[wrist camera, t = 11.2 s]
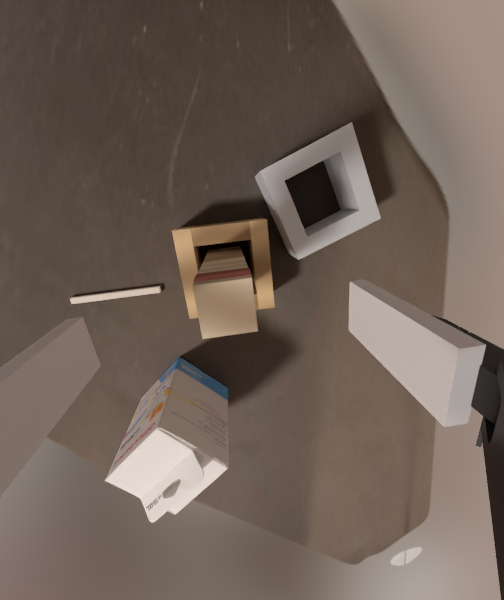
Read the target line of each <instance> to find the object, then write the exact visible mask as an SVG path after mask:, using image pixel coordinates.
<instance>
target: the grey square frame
mask: <svg viewBox="0 0 504 600" xmlns="http://www.w3.org/2000/svg"><path fill="white" fill-rule="evenodd" d="M321 161H324V164H325V167H326V169H327V172H328V175H329V178H330V181H331V184H332V187H333V189H334V192H335V195H336V198H337V201H338V204H339V207H340V211H338V212H336V213H334V214H332V215H330V216H328V217H326V218H324V219H322V220H320V221H319V222H317V223H315V224H313V225H311V226H309V227H307V228H305V229H304V227H303V225H302V222H301V220H300V218H299V215H298V213H297V210H296V208H295V205H294V203H293V200H292V198H291V195H290V193H289V191H288V188H287V186H286V183H285V180H287V179H289V178H291V177H293V176H295V175H296V174H298V173H300V172H302V171H304V170H306V169H308V168H310V167H312V166H313V165H315V164H317V163H319V162H321ZM255 179H256V181H257V183H258V185H259V188H260V190H261V192H262V195H263V197H264V199H265V201H266V204H267V206H268V208H269V210H270V213H271V215H272V217H273V219H274V222H275V224H276V226H277V228H278V231H279V233H280V235H281V237H282V240H283V242H284V244H285V246H286V249H287V251H288V253H289V254H290V255H292V256H293V257H295V258H296V259H298V260H299V259H301V258H303V257H305V256H307V255H309V254H311V253H313V252H315V251H317V250H319V249H321V248H323V247H325V246H327V245H329V244H331V243H333V242H335V241H337V240H339V239H341V238H343V237H345V236H347V235H349V234H351V233H353V232H355V231H357V230H359V229H361V228H363V227H365V226H367V225H369V224H371V223H373V222H375V221H377V220H379V219H381V217H380V214H379V211H378V207H377V204H376V201H375V197H374V194H373V191H372V187H371V184H370V181H369V177H368V174H367V171H366V167H365V164H364V161H363V157H362V154H361V151H360V147H359V144H358V141H357V137H356V134H355V131H354V127H353V124H352V122H351V123H349V124H347V125H345V126H343V127H342V128H340V129H338V130H336V131H334V132H332V133H330V134H329V135H327V136H325V137H323V138H321V139H319V140H317V141H315V142H314V143H312V144H310V145H308V146H306V147H304V148H302V149H300V150H299V151H297V152H295V153H293V154H291V155H289V156H287V157H285V158H284V159H282V160H280V161H278V162H276V163H274V164H272V165H270V166H269V167H267V168H265V169H263V170H261V171H260V172H259V173H258V174H257V175H256V176H255Z"/></svg>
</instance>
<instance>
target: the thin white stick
mask: <svg viewBox="0 0 504 600" xmlns="http://www.w3.org/2000/svg"><path fill="white" fill-rule="evenodd" d="M153 293H161V287H160V286H153V287H145V288H137V289H130V290H122V291H114V292H106V293H99V294H91V295H83V296H76V297H71V298H70V301H71V303H72V304H76V303H84V302H92V301H99V300H107V299H115V298H122V297H130V296H138V295H145V294H153Z"/></svg>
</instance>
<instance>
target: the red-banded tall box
mask: <svg viewBox="0 0 504 600" xmlns="http://www.w3.org/2000/svg"><path fill="white" fill-rule="evenodd" d="M192 286H193V292H194V297H195V302H196V307H197V312H198V318H199V323H200V328H201V333H202V338H203V339H206V338H214V337H221V336H228V335H235V334H242V333H249V332H256V331H258V327H257V318H256V309H255V300H254V291H253V283H252V274H251V271H250V269H249V267H248V266H247V263H246V261H245V258H244V255H243V253H242V250H241V247H240V246H236V247H228V248H220V249H212V250H208V252H207V254H206V257H205V259H204V261H203V263H202V265H201V268H200V270H199V272H198V274H196V276H195V278H194V280H193V285H192Z"/></svg>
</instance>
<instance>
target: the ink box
mask: <svg viewBox="0 0 504 600" xmlns="http://www.w3.org/2000/svg"><path fill="white" fill-rule="evenodd" d="M228 465H229V460H228V388H227V387H225V386H224V385H222V384H221V383H219V382H218V381H216V380H215V379H213V378H212V377H210V376H208V375H207V374H205V373H204V372H202V371H201V370H200V369H198V368H197V367H195V366H194V365H192V364H190V363H189V362H187V361H186V360H184V359H182V358H181V357H179V358H178V359H177V360H176V361H175V362H174V363H173V364H172V365H171V367H170V368H169V369H168V370H167V371H166V372H165V373H164V374H163V375H162V376H161V377H160V378H159V380H158V381H157V382H156V383H155V384H154V385H153V386H152V387H151V388H150V389H149V390H148V391H147V393H146V394H145V395H144V396H143V397H142V398H141V401H140V403H139V405H138V407H137V410H136V412H135V414H134V417H133V419H132V421H131V424H130V426H129V428H128V430H127V432H126V435H125V437H124V439H123V441H122V444H121V446H120V448H119V450H118V453H117V455H116V457H115V459H114V462H113V464H112V466H111V468H110V470H109V473H108V475H107V477H106V479H105V481H106V482H108V483H110V484H112V485H114V486H116V487H118V488H120V489H123V490H125V491H127V492H129V493H131V494H133V495H135V496H137V497H139V498H140V499H141V501H142V504H143V506H144V508H145V511H146V513H147V516H148V519H149V520H150V522H155V521H156V520H158V519H159V518H160V517H161V516H162V515H163V514H164V513H166V512H167V511H168V512H170V513H172V514H177V513H178V512H179V511H180V510H181V509H182V508H184V507H185V506H186V505H187V504H188V503H189V502H190V501H192V500H193V499H194V498H195V497H196V496H197V495H198V494H200V493H201V492H202V491H203V490H204V489H205V488H206V487H208V486H209V485H210V484H211V483H212V482H213V481H214V480H215V479H217V478H218V477H219V476H220V475H221V474H222V473H224V472H225V471H226V470H227V469H228Z"/></svg>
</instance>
